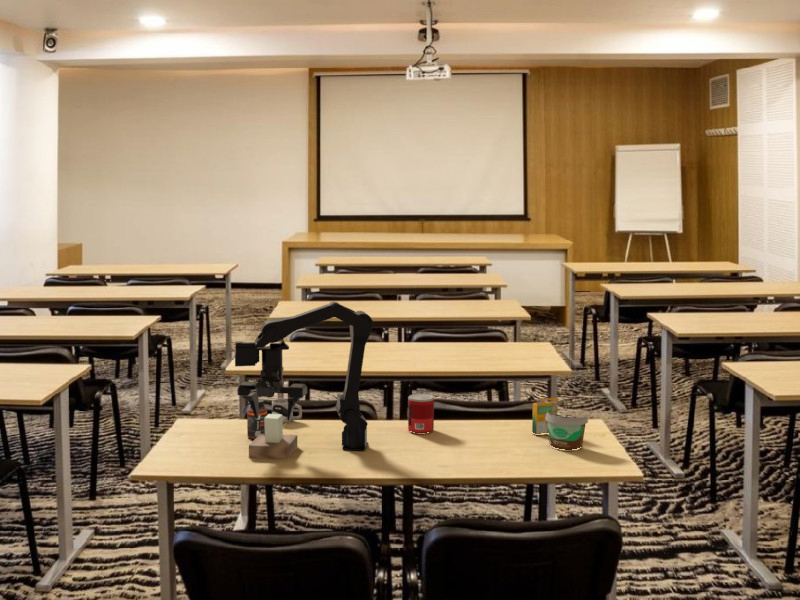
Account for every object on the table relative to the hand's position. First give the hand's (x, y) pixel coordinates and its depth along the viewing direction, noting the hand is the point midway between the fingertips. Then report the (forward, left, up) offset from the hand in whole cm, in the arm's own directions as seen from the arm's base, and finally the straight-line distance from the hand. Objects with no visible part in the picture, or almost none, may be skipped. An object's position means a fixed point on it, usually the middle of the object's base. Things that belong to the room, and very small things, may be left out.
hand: (272, 419), depth 221 cm
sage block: (0, 0, -6) cm, 6 cm away
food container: (-82, -16, -10) cm, 84 cm away
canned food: (-39, -27, -10) cm, 49 cm away
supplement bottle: (+9, -13, -10) cm, 19 cm away
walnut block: (0, 0, -10) cm, 10 cm away
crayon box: (-77, -30, -10) cm, 83 cm away
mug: (+5, -31, -10) cm, 33 cm away
